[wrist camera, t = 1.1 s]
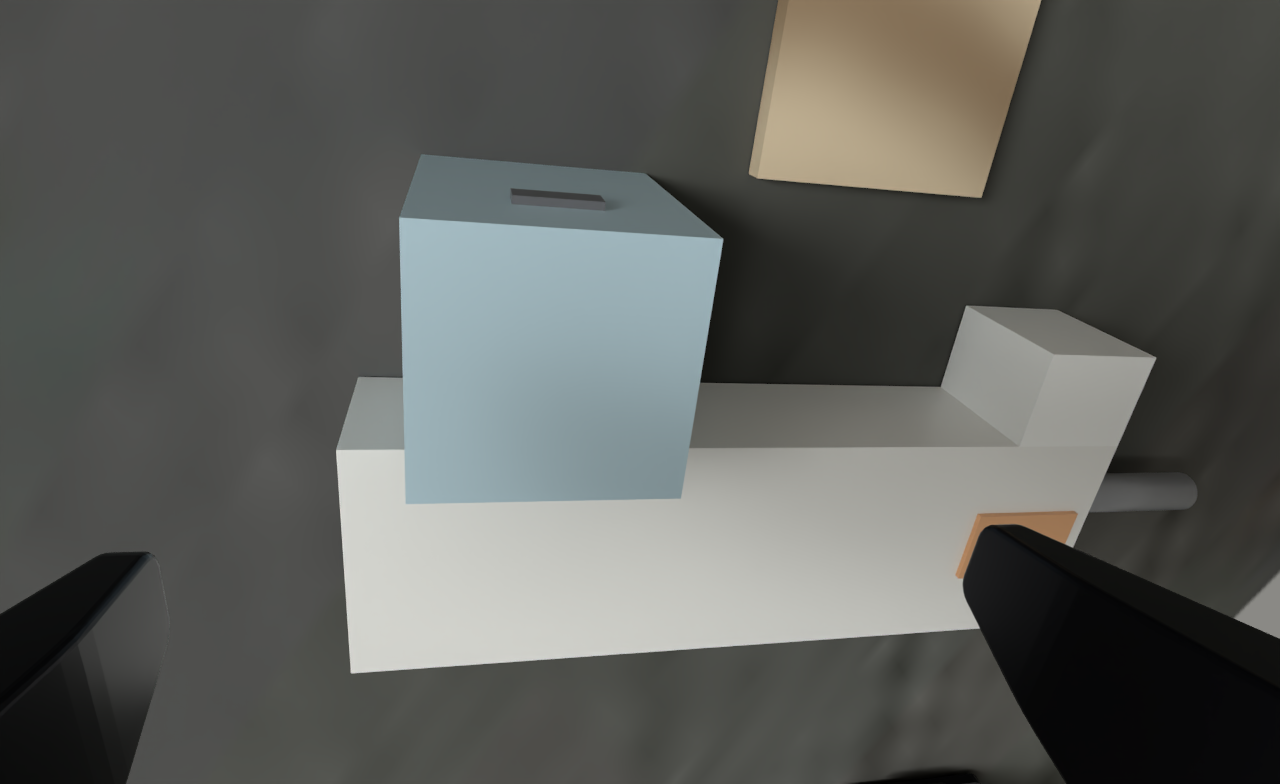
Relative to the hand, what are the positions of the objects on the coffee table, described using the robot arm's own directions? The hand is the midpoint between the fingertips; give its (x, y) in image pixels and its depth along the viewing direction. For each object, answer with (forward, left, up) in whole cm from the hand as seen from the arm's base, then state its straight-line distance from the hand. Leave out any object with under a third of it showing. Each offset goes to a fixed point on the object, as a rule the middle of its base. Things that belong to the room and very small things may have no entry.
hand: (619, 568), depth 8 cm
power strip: (-5, -8, -11) cm, 14 cm away
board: (+6, -8, -11) cm, 15 cm away
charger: (-1, 0, -11) cm, 11 cm away
